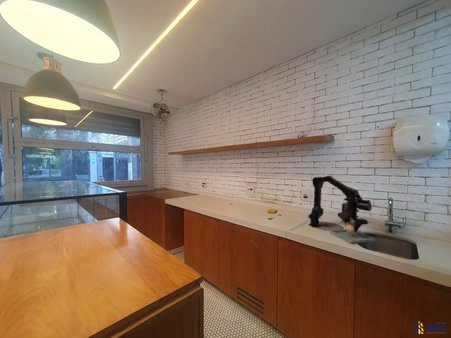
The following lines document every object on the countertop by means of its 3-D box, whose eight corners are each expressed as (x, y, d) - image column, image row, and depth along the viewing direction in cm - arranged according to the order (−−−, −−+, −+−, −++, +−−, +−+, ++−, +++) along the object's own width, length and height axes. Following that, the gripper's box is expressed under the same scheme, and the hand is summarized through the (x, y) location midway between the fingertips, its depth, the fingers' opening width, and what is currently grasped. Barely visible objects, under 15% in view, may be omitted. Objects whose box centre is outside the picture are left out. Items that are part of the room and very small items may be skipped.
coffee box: (341, 222, 155) (341, 203, 155) (344, 221, 159) (344, 202, 158) (353, 225, 148) (353, 205, 147) (356, 223, 151) (357, 204, 151)
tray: (330, 233, 132) (330, 230, 132) (351, 231, 135) (351, 228, 135) (351, 244, 115) (351, 241, 114) (375, 241, 118) (375, 238, 118)
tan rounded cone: (343, 230, 127) (344, 222, 127) (351, 230, 128) (351, 221, 128) (351, 234, 121) (351, 225, 121) (358, 233, 122) (359, 224, 122)
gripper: (331, 205, 132) (330, 226, 133) (353, 212, 114) (352, 236, 114) (344, 204, 134) (344, 225, 135) (368, 211, 116) (368, 235, 116)
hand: (351, 230), depth 125 cm, fingers closed on tan rounded cone, 6 cm apart
